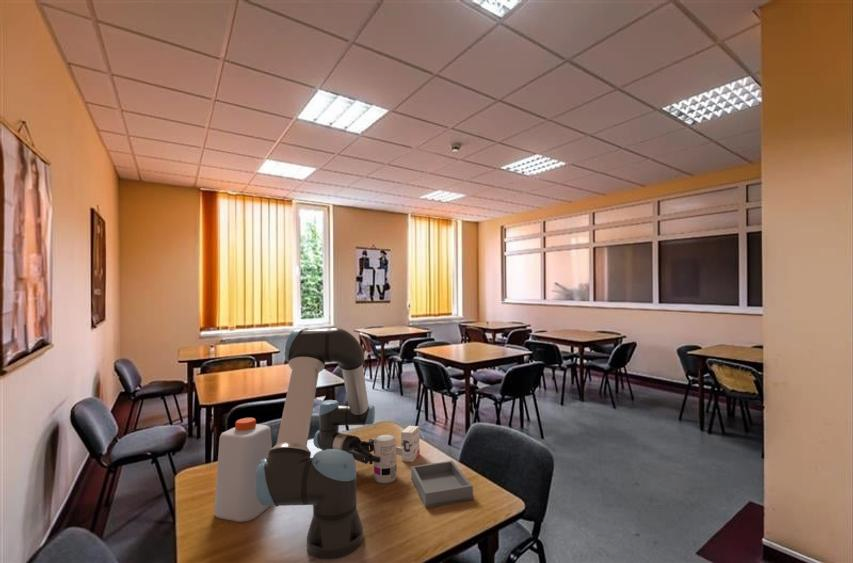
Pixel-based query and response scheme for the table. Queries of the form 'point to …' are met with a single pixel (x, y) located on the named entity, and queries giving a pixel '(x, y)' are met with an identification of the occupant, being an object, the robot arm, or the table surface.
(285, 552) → the table surface
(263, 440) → the plastic bottle
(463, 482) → the tote
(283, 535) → the table surface
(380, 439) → the supplement can
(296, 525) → the table surface
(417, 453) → the ink box
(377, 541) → the table surface
